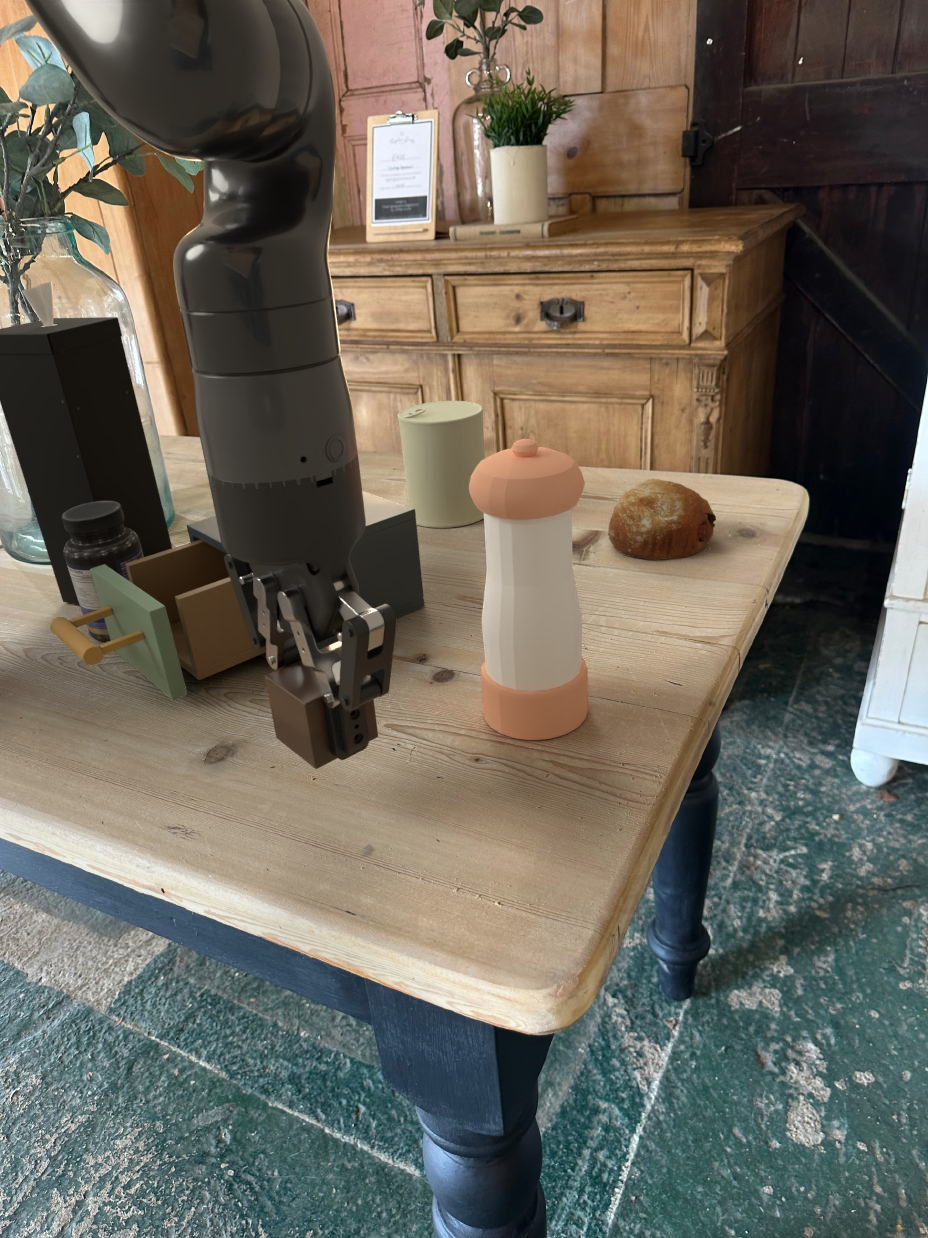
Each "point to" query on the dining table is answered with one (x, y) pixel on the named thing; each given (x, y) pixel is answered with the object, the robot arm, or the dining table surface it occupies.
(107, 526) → the pill bottle
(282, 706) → the block
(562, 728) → the pepper shaker
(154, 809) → the dining table surface
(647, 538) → the bread roll
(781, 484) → the dining table surface
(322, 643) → the cabinet
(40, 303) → the black tall box
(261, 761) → the dining table surface
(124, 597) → the drawer
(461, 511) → the can
